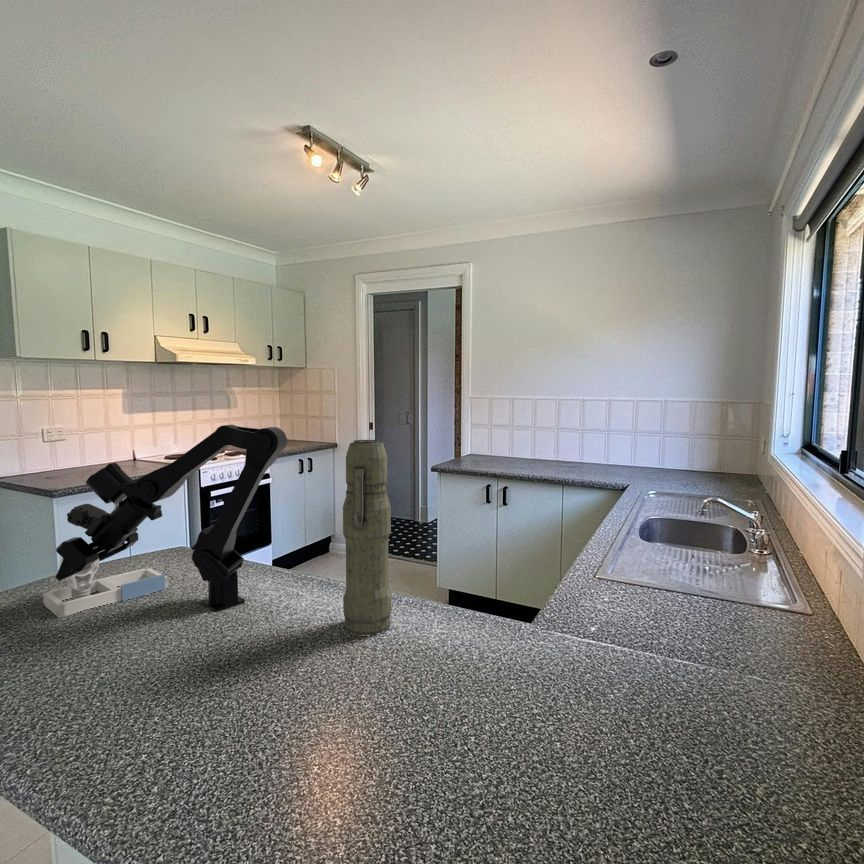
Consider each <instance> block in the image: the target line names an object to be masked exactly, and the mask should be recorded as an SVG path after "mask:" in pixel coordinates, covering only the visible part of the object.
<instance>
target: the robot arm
mask: <svg viewBox="0 0 864 864" xmlns="http://www.w3.org/2000/svg"><path fill="white" fill-rule="evenodd" d="M287 445H288V438H287V435H286V433H285V431H283V430H282V429H281V428H280V427H277V426H269V427H268V426H267V427H262V428H253V427H245V426H244V427H243V426H237V425H235V424H226V425H220V426H218V427H216V429H215V431H214V432H212V433H211V434H209V435H208V436H207V437H206V438H203V440H201V441H200V442H199V443H197V444H196V445H194V446H193V447H191V449H189V450H188V451H186V452H185V453H183V454H182V455H180V457H178V458H177V459H175V460H174V461H172V462H171V463H168V464H166V465H164V466H162V467H160V468H157V469H155V470H153V471H151V472H149V473H147V474H145V475H142V476H140V478H135V479H132V478H131V477H130V476H129V475H128V474H127V473H126V472H125V471H124V470H122V468H121V466H120V465H119V464H118V463H117V462H111V463H108V464H106V466H104V467H103V468H101V469H99V470H98V471H96V472H95V473H93V474H91V475H89V477H88V478H87V479H86V481H85V485H86V486H87V487H88V489H90V490H91V491H92V492H93V493H94V494H95V495H96V496H98V497H99V499H100V500H102V501H103V502H104V503H105V504H107V505H108V504H111V503H113V504H114V505H116V504H118V503H119V504H118V505H117V506H116V507H115V508H114V509H113V510H112V511H111V512H110V513H109V512H107V511H106V510H104V509H102V508H100V507H98V506H95V505H93V504H90V503H83V504H80V505H77V506H76V505H75V506H74V508H72V509H71V510H70V511H69V512H67V514H66V517H67V523H69V524H72V525H74V526H76V527H80V528H83V529H85V531H84V534H85V535H86V536H87V537H91V538H90V540H91V542H90V543H88V542H87V541H86V540H85V539H84V538H82V537H81V536H79V537H76V536H75V537H72V538H70V539H67V540H64V541H63V542H61V543H60V544H59V545H58V546H57V547H56V549H55V551H56V553H57V554H58V555H59V556H60V557H61V558H62V557H63V561H62V564H61V566H60V568H59V567H58V568H59V569H58V570H57V573H56V574H55V579H57V581H59V582H60V581H62V580H64V579H65V578H67V577H69V576H71V575H73V574H76V573H78V572H80V571H82V570H84V569H86V568H89V567H90V566H91V565H92V564H93V563H94V562H95V561H96V560H97V559H98V556H99V560H100V562H101V561H104V560H106V559H108V558H110V557H112V556H114V555H117V554H119V553H121V552H123V551H125V550H127V549H128V548H130V547H133V546H134V545H135V543H136V542H138V540H139V534H138V532H137V531H138V530H139V529H138V527H139V526H140V525H141V524H142V523H143V522H144V521H146V519H147V518H149V520H150V521H155V520H157V519H159V518H162V517H163V512H162V505H161V504H158V505H157V504H155V503H156V502H160V501H161V500H164V499H167V498H170V497H172V496H173V495H175V493H176V492H177V491H178V490H179V489H180V488H181V487H182V486H183V485H184V483H185V482H186V480H187V479H188V478H189V477H190V476H191V475H192V474H193V473H195V472H196V471H197V470H199V469H200V468H201V467H203V466H204V465H206V464H207V463H208V462H210V461H211V460H212V459H214V458H215V457H217V456H218V455H219V454H221V453H222V452H223V451H225V450H226V449H228V448H229V447H230V446H231V447H234V448H239V449H241V450H245V451H246V452H245V461H244V466H243V468H242V470H241V472H240V473H239V476H238V479H237V480H236V482H235V484H234V486H233V488H232V490H231V492H230V494H229V496H228V498H227V500H226V503H225V504H224V506H223V508H222V510H221V512H220V514H219V517H218V518H217V520H216V522H215V524H211V525H210V526H209V527H206V528H204V529H203V530H201V531H199V533H198V536H197V539H196V542H195V543H194V545H193V546H192V547H191V548H190V550H191V551H192V554H191V560H192V562H193V565H194V566H195V567H196V568H197V571H198V572H199V575H200V577H201V579H202V581H203V582H207V584H208V585H207V587H208V590H207V591H208V592H207V593H208V598H207V599H204V600H201V604H202V605H203V606H205V605H206V606H205V607H207V608H209V609H212V610H213V611H215V612H218V611H221V610H224V609H228V608H231V607H234V606H237V605H240V604H242V603H246V598H243V597H241V596H239V575H238V570H239V569H241V568H242V566H243V563H244V561H245V557H243V556H242V555H240V553H239V552H238V551H237V550H235V548H234V547H235V544H236V539H237V530H238V527H239V525H240V523H241V521H242V519H243V518H244V515H245V513H246V511H247V510H248V508H249V505H250V503H251V501H252V500H253V497H254V495H255V494H256V492H257V489H258V487H259V485H260V483H261V482H262V479H263V478H264V476H265V473H266V472H267V470H269V468H270V467H271V466H272V465H273V464H274V463H275V461H277V459H278V458H279V457H280V456H281V454H282V452H283V451H284V450H285V449H286V447H287ZM65 580H66V579H65Z"/></svg>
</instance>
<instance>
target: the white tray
mask: <svg viewBox="0 0 864 864" xmlns="http://www.w3.org/2000/svg"><path fill="white" fill-rule="evenodd" d="M117 586H120V587H117ZM167 587H168V588H169V577H168V576H166V575H165V574H163V573H161V572H159V571H156V570H154V569H152V568H150V567H145V568H141V569H137V570H133V571H127V572H125V573H120V574H114V575H111V576H106V577H103V578H98V579H94V580H93V579H92V584H91V586H90V592H96V591H98V592H99V593H98V592H96V593H94V594H91V596H87V597H83V598H79V599H75V600H71V599H69V598H71V597H72V595H71V594H72V593H71V591H72V590H71V589H70V587H69V585H67V586H65V587H64V586H63V587H60V588H56V589H52V590H51V589H50V590H48V591H47V590H46V591H42V603H43V604H42V605H44V606H45V608H47V609H48V610H50V611H51V613H53V615H55V616H56V617H58V618H59V619H60V618H63V617H68V616H71V615H75V614H78V613H77V612H79V613H81V612H80V611H82V612H84V611H83V610H86V609H90V608H94V607H97V608H99V607H98V606H101V607H103V606H102V605H105V606H107V605H106V604H108V605H111V604H110V603H112V604H115V602H116V603H118V601H119V602H126V601H125V600H127V601H129V600H128V599H130V600H133V599H132V598H134V599H137V598H136V597H138V598H140V597H139V596H142V597H144V596H143V595H145V596H147V595H146V594H149V595H151V594H150V593H153V592H156V591H159V590H163V589H165V588H167ZM168 588H167V589H168ZM165 590H166V589H165ZM156 593H157V592H156ZM153 594H154V593H153ZM65 599H68V600H65ZM62 600H64V602H63V601H62ZM121 600H122V601H121ZM94 609H95V608H94ZM90 610H91V609H90ZM86 611H87V610H86ZM74 613H75V614H74Z"/></svg>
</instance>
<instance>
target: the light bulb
mask: <svg viewBox="0 0 864 864" xmlns="http://www.w3.org/2000/svg"><path fill="white" fill-rule="evenodd" d="M62 561H63V557H62V556H61V558H60V561H59V563H58V564H59V565H58V568H60V566H61V564H62ZM100 562H101V561H100V560H99V556H98V559H97V560H96V561H95V562H94V563H93V564H92V565H91V566H90V567H89V568H86V569H84V570H82V571H80V572H78V573H76V574H73V575H71V576H69V577H67V578H65V580H66V581H67V583H68V586H69V587H70V589H71V590H72V591H71V593H72V594H71V595H72V597H71V598H72V600H75V599H79V598H83V597H87V596H91V595H92V594H90V593H91V592H90V586H91V584H92V581H93V578H94V576H95V574H96V572H97V571H98V569H99V566H100Z"/></svg>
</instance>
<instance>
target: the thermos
mask: <svg viewBox="0 0 864 864" xmlns="http://www.w3.org/2000/svg"><path fill="white" fill-rule="evenodd" d="M345 455H346V456H345V484H346V491H345V497H344V498H345V499H344V502H343V505H342V535H343V537H344V539H345V592H344V594H343V597H342V599H343V600H342V601H343V602H342V603H343V604H342V606H343V607H342V608H343V617H344V624H343V625H344V626H343V627H344V630H345V631H346V632H347V631H348V632H349V633H348V632H347V633H348V634H350V633H352V634H356V635H355V636H357V635H374V634H377V633H381V634H383V633H384V632H383V631H385V632H387V631H388V630H389V629H390V628H391V623H392V621H391V613H392V592H391V588H390V585H389V537H390V535H391V533H392V532H391V531H392V529H391V528H392V527H391V525H392V516H391V513H392V509H391V507H392V506H391V503H390V499H389V497H388V489H387V483H388V454H387V451H386V449H385V445H384V442H383V441H382V442H381V441H380V440H378V439H356V440H353V442H350V443H349V446H348V447H347V451H346V454H345ZM389 627H390V628H389ZM388 628H389V629H388ZM386 630H387V631H386ZM382 632H383V633H382ZM352 634H351V635H352ZM374 636H375V635H374Z"/></svg>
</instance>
